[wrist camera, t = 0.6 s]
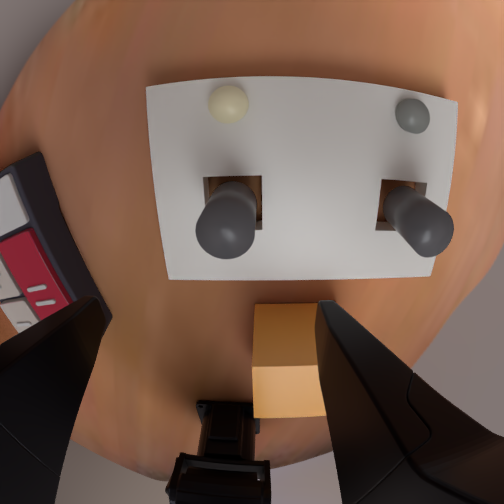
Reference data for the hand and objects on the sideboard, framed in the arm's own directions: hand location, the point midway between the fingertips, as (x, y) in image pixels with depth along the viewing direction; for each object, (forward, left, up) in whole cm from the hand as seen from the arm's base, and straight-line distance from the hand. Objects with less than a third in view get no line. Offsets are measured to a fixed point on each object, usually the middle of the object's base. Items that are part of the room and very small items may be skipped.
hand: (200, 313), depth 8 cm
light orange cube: (-11, -4, -11) cm, 16 cm away
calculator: (-4, +18, -12) cm, 22 cm away
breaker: (0, -10, -9) cm, 14 cm away
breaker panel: (+1, -5, -11) cm, 12 cm away
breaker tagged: (0, 0, -9) cm, 9 cm away
